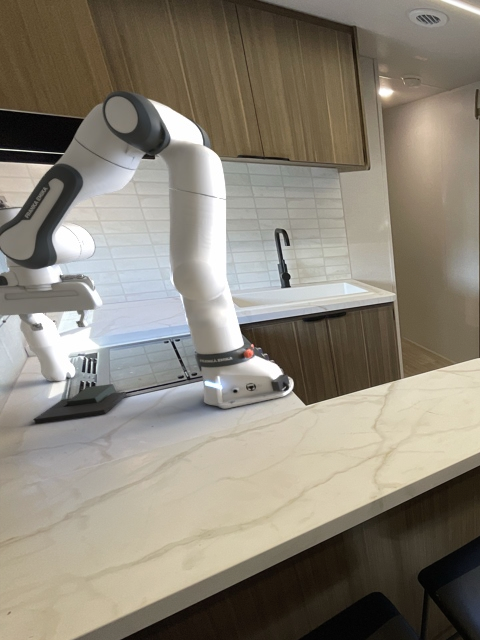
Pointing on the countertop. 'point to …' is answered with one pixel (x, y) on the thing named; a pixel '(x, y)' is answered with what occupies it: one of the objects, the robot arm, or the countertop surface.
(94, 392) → the pad
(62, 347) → the water bottle
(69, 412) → the notch mat
